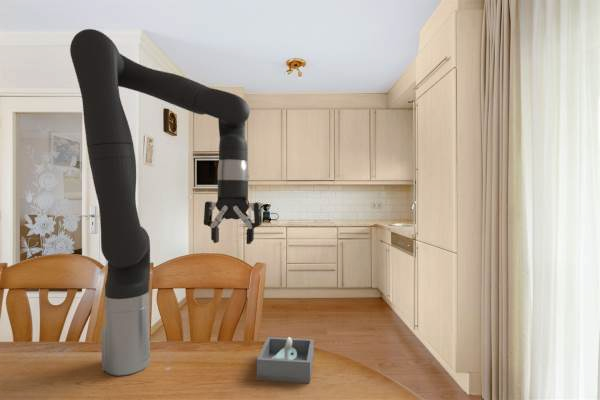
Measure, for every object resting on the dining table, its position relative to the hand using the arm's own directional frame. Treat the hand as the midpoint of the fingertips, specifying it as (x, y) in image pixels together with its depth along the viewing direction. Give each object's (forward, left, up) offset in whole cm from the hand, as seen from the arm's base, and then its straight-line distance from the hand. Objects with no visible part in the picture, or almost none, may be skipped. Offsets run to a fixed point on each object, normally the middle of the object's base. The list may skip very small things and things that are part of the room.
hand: (232, 243), depth 90 cm
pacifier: (+14, -6, -27) cm, 31 cm away
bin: (+15, -6, -28) cm, 32 cm away
